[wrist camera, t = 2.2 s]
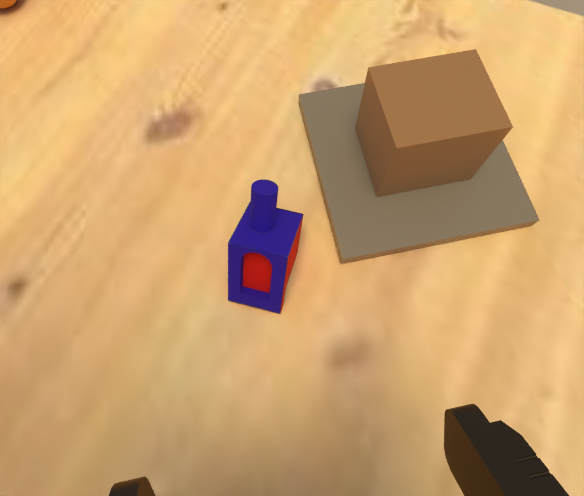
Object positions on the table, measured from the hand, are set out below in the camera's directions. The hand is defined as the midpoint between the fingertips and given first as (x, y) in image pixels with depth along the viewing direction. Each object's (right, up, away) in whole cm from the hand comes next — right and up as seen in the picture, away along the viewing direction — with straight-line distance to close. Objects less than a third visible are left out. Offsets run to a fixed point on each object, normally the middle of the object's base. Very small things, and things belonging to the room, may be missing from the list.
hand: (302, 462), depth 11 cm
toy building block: (-2, +5, +17) cm, 18 cm away
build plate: (+9, +12, +20) cm, 25 cm away
